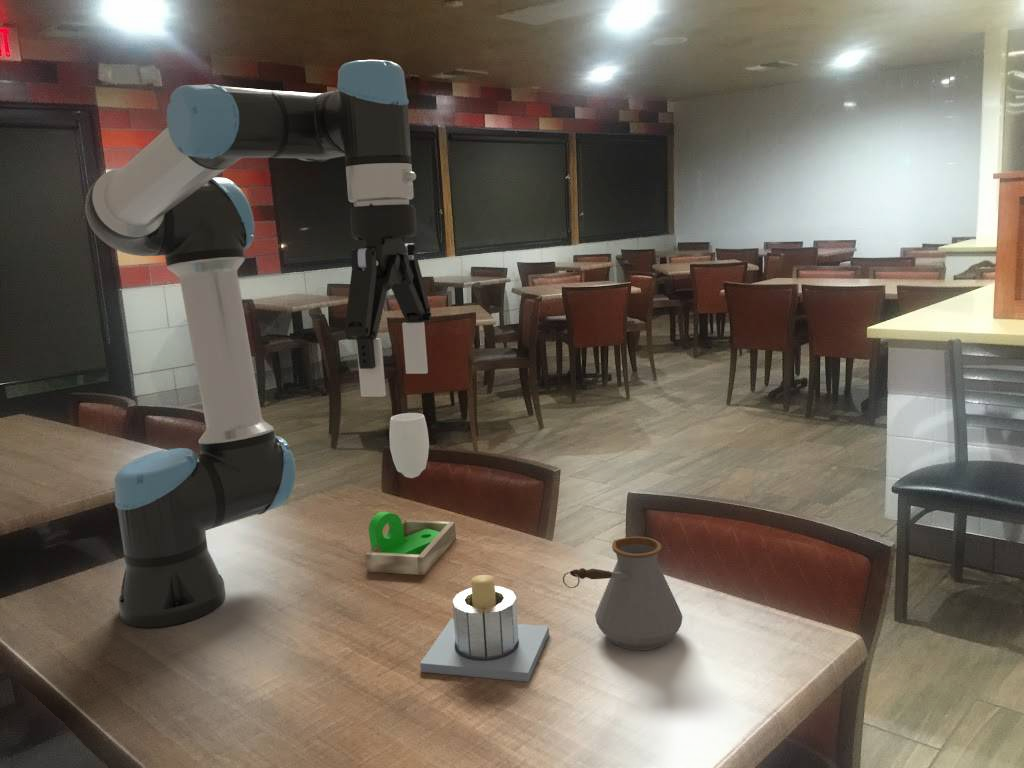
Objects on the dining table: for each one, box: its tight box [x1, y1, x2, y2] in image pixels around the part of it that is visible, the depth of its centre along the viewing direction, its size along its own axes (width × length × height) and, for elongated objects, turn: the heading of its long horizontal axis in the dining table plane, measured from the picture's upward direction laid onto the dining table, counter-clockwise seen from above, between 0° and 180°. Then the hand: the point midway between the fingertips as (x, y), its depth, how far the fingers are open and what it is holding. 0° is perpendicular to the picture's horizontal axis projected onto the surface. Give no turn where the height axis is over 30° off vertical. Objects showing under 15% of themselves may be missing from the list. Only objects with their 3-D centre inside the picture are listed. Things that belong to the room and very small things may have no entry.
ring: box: [452, 585, 519, 658], centre depth 109 cm, size 8×8×6 cm
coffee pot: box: [562, 536, 684, 651], centre depth 107 cm, size 21×12×15 cm, turn 142°
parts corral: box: [365, 519, 457, 576], centre depth 144 cm, size 10×16×3 cm, turn 165°
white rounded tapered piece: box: [388, 412, 430, 479], centre depth 157 cm, size 7×7×21 cm
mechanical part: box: [368, 511, 440, 555], centre depth 143 cm, size 12×6×8 cm, turn 134°
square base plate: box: [419, 574, 550, 683], centre depth 109 cm, size 14×12×10 cm
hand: (396, 384), depth 101 cm, fingers open, 13 cm apart
